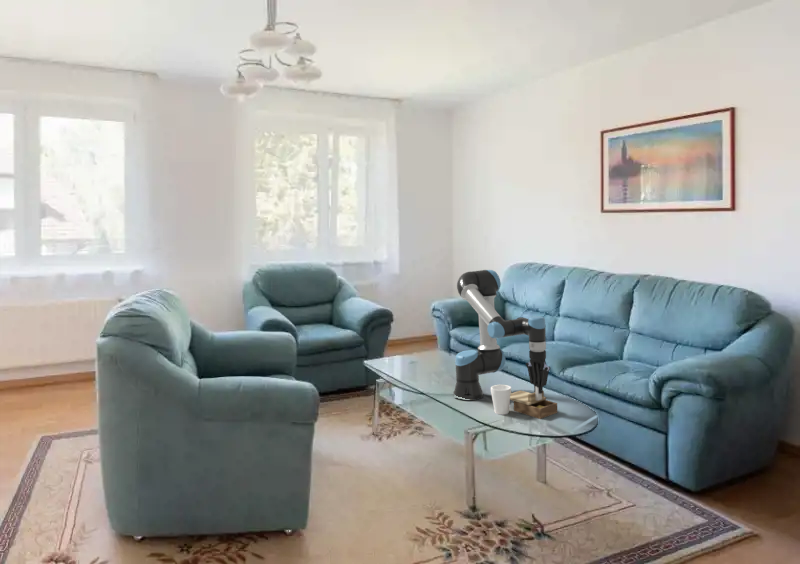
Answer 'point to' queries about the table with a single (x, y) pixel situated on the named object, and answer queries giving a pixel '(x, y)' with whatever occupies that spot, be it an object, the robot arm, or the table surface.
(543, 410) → the brown wooden box
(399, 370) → the table surface
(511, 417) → the table surface
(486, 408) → the table surface
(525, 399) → the lid
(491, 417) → the table surface
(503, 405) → the foam cup
